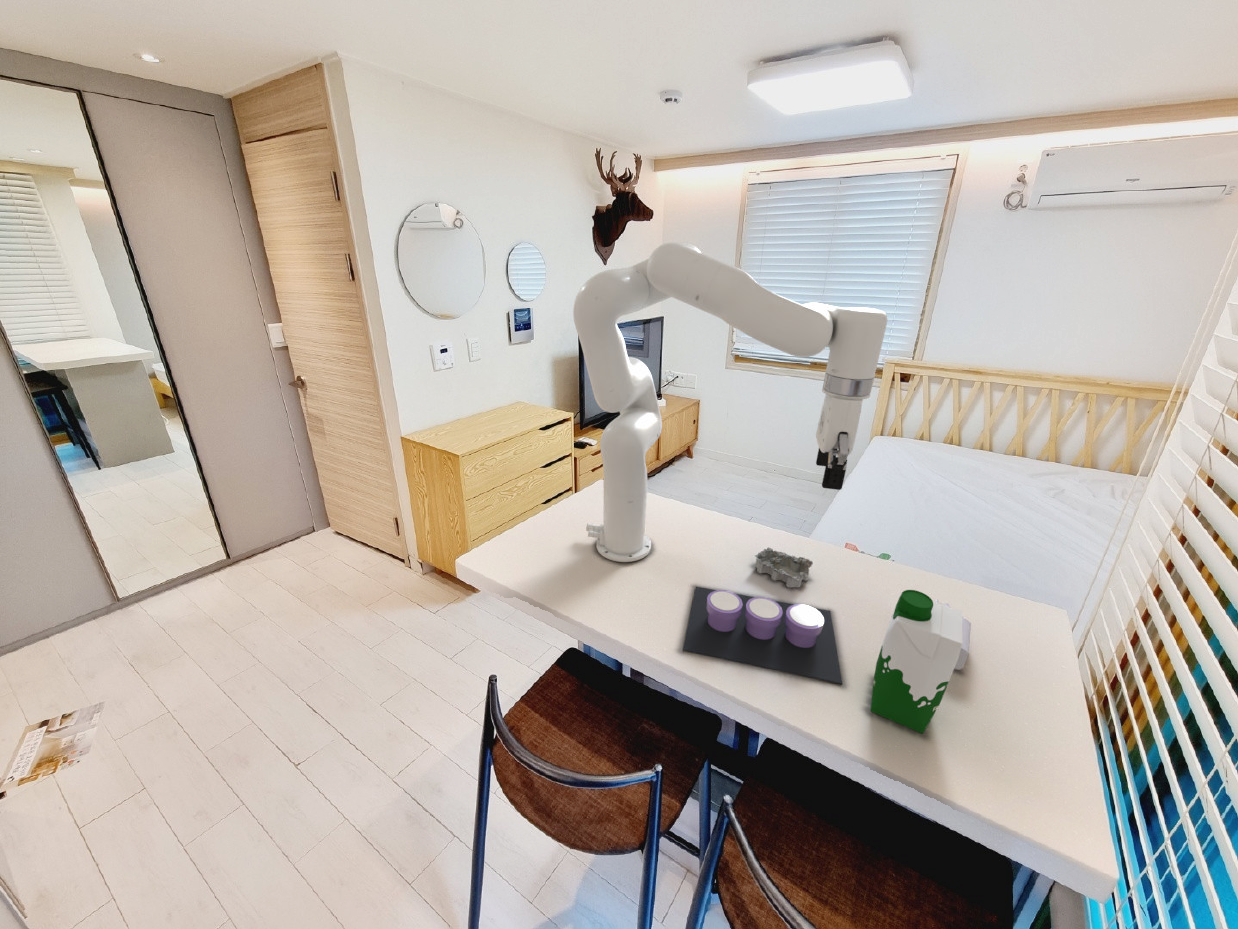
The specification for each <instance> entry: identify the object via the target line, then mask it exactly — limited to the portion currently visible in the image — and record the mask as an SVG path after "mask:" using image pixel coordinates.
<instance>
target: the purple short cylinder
mask: <svg viewBox="0 0 1238 929" xmlns="http://www.w3.org/2000/svg"><path fill="white" fill-rule="evenodd" d="M716 590H717V591H713V592H711V593H710V594H709V595H708V597H707V604H706V608H707V611H708V619H707V620H708V623H709V625H710V626H711V627H712V628H714V629H715V630H718V631H722V632H728V631H732V630H733V629H735V627H736V626H737V619H738V617H739V616H740V615H741V612H742V605H743V603H742V600H741V599H740V597H739V596H738V595H736V594H737V593H736V592H735V593H734V592H733V591H730V590H725V589H716Z"/></svg>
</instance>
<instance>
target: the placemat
mask: <svg viewBox="0 0 1238 929" xmlns="http://www.w3.org/2000/svg"><path fill="white" fill-rule="evenodd" d="M717 590H718V589H712V588H707V587H702V586H695V589H694V594H693V600H692V604H691V608H690V614H689V618H688V623H687V628H686V633H685V638H684V642H683V647H682V651H683V652H687V653H692V654H695V655H696V654H697V655H701V656H705V657H710V658H716V659H720V660H724V661H730V662H734V663H739V664H743V665H749V666H752V667H757V668H762V669H766V670H772V671H776V672H781V673H786V674H791V675H794V676H795V675H796V676H799V677H800V676H801V677H805V678H810V679H813V680H819V681H824V682H828V683H833V684H836V685H837V684H838V685H843V679H842V673H841V672H842V671H841V668H840V667H841V666H840V661H839V655H838V648H837V643H836V636H835V630H834V626H833V624H834V623H833V619H832V613H831V610H829V609H823V608H822V609H821V608H817V607H814V608H815V609H816V610H818V611H819V612H820V613H821V614H822V616H823V618H824V625H823V629H822V632H821V633H820V634H819V635H818V637H817V641H816V644H815V645H814V646H812V647H809V648H802V647H798V646H796V645H794V644H792V643H791V642H789V641H788V639H787V638H786V636H785V630H786V623H785V615H786V610H787V609H788V607H790V606H791V605H795V603H789V602H785V601H779V600H774V601H775V602H776V603H778V604H779V605H780V607H781V608H782V611H783V614H782V619H781V623H780V624H779V625H778V626H777V629H776V634H775V636H774V637H773V638H771V639H767V640H762V639H758V638H755V637H753V636H752V635H750V634H749V633H748V632H747V630H746V620H747V618H746V616H745V608H746V603H747V601H748V600H750V599H751V598H755V597H756V596H751V595H745V594H739V593H735V594H736V595H738V596H739V597H740V599H741V600H742V603H743V605H742V612H741V615H740V616H739V617H738V619H737V626H736V627H735V629H733V630H732V631H728V632H722V631H718V630H715V629H714V628H712V627H711V626H710V625H709V623H708V620H707V619H708V611H707V608H706V604H707V597H708V595H709V594H710V593H711V592H713V591H717Z"/></svg>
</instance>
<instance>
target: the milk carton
mask: <svg viewBox="0 0 1238 929" xmlns="http://www.w3.org/2000/svg"><path fill="white" fill-rule="evenodd" d="M942 604H943V603H940V602H939V601H938V602H935V600H933V599H932V598H931V597H930V596H929V595H927V594H925V593H923V592H921V591H919V590H916V589H906V590H903V591H901V592H900V594H899V597H898V600H897V602H896V604H895V608H894V610H893V613H892V614H891V618H890V620H889V622H888V626H887V628H886V631H885V634H884V638H883V641H882V643H881V646H880V651H879V654H878V656H877V660H876V664H875V670H874V675H873V680H872V681H873V682H872V690H871V701H870V702H871V703H870V712H871V713H874V714H876V715H878V716H881V717H883V718H885V719H888V720H889V721H892V722H894V723H896V724H898V725H901V726H904V727H905V728H908V729H910V730H913V731H915V732H918V733H919V734H922V735H923V734H924V733H925V731H926V729H927V728H928V726H929V724H930V722H931V721H932V719H933V717H934V715H935V714H936V712H937V710H938V708H939V707H940V704H941V702H942V700H943V698H944V695H945V692H946V690H947V689H948V688H947V687H948V685H949V684H950V680H951V678H952V675H953V673H954V671H955V669H954V668H955V665H956V663H957V660H958V658H959V654H960V650H961V646H962V617H963V610H959V609H956V608H954V607H951V606H950V607H951V608H950V607H947V606H944V605H945V604H944V605H942Z"/></svg>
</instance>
